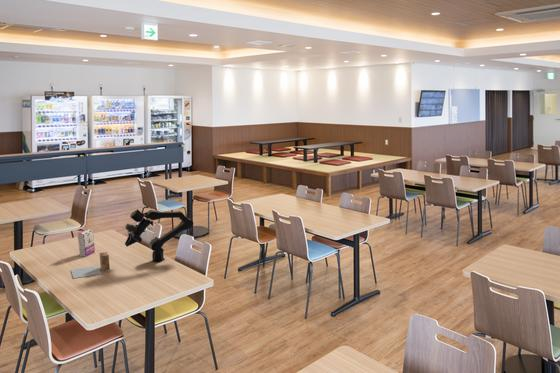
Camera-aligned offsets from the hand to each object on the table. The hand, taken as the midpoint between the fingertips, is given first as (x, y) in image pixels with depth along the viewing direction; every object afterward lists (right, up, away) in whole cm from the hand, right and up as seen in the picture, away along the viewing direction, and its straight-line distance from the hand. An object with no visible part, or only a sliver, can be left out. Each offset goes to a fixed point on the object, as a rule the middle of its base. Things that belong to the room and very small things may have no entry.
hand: (125, 245), depth 311 cm
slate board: (-22, -16, -9) cm, 29 cm away
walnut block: (-12, -15, -4) cm, 19 cm away
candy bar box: (-35, -10, +26) cm, 45 cm away
